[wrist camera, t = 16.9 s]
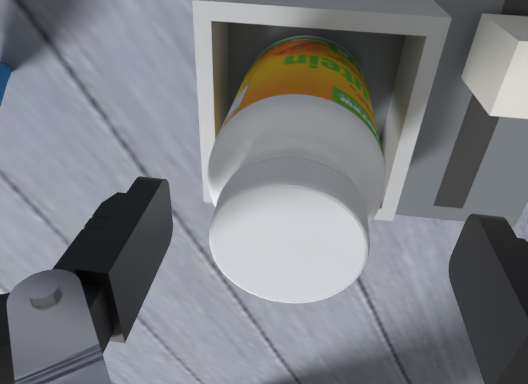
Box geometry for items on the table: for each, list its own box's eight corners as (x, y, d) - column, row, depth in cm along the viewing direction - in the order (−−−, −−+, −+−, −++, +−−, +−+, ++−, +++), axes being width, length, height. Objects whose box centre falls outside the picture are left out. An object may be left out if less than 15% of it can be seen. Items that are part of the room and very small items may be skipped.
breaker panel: (497, 196, 23) (539, 270, 18) (227, 170, 24) (205, 234, 19) (614, -58, 16) (729, -39, 11) (223, -79, 17) (188, -70, 12)
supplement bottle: (393, 66, 17) (452, 214, 9) (331, 167, 20) (334, 343, 12) (271, 9, 16) (219, 115, 8) (226, 123, 19) (157, 279, 11)
